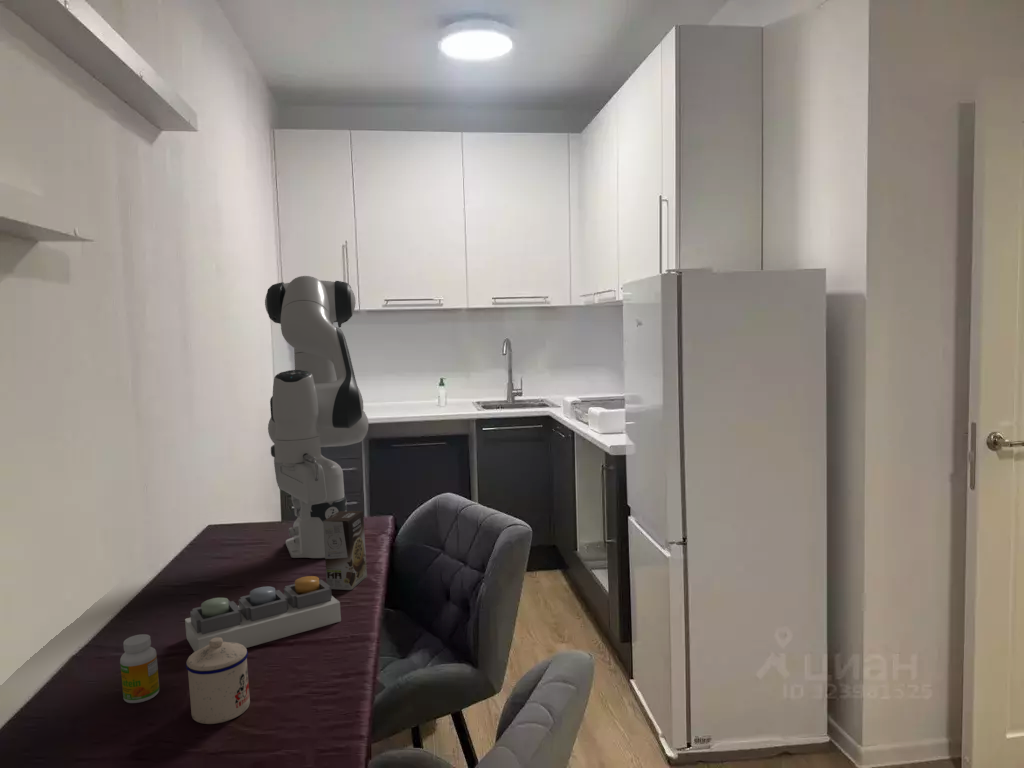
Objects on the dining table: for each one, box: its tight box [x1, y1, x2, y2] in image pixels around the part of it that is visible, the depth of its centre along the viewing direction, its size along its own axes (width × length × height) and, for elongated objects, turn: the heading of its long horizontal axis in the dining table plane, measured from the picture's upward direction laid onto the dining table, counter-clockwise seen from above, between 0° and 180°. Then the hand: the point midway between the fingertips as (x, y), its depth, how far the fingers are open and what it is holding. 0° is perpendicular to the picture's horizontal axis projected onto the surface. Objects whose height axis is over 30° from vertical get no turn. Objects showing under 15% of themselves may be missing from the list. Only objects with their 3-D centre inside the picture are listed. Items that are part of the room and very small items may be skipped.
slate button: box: [249, 586, 276, 605], centre depth 144 cm, size 5×5×2 cm
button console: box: [184, 579, 342, 653], centre depth 144 cm, size 12×27×6 cm, turn 125°
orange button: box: [294, 575, 320, 594], centre depth 149 cm, size 5×5×2 cm
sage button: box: [200, 597, 229, 618], centre depth 139 cm, size 5×5×2 cm
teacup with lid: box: [185, 637, 251, 725], centre depth 116 cm, size 12×9×12 cm
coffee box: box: [323, 510, 368, 591], centre depth 168 cm, size 9×6×16 cm
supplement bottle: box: [119, 633, 160, 704], centre depth 120 cm, size 5×5×10 cm
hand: (302, 517), depth 148 cm, fingers closed
